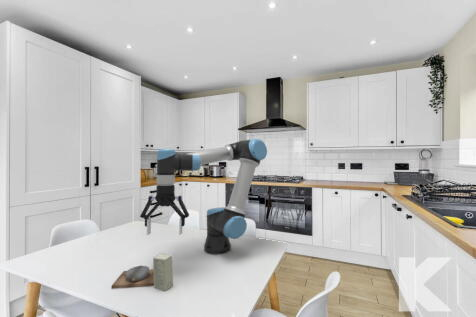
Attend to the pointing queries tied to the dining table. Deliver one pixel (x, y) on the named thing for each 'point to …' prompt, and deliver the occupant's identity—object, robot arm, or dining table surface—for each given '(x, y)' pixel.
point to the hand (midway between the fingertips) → (164, 233)
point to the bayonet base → (137, 284)
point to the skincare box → (163, 271)
